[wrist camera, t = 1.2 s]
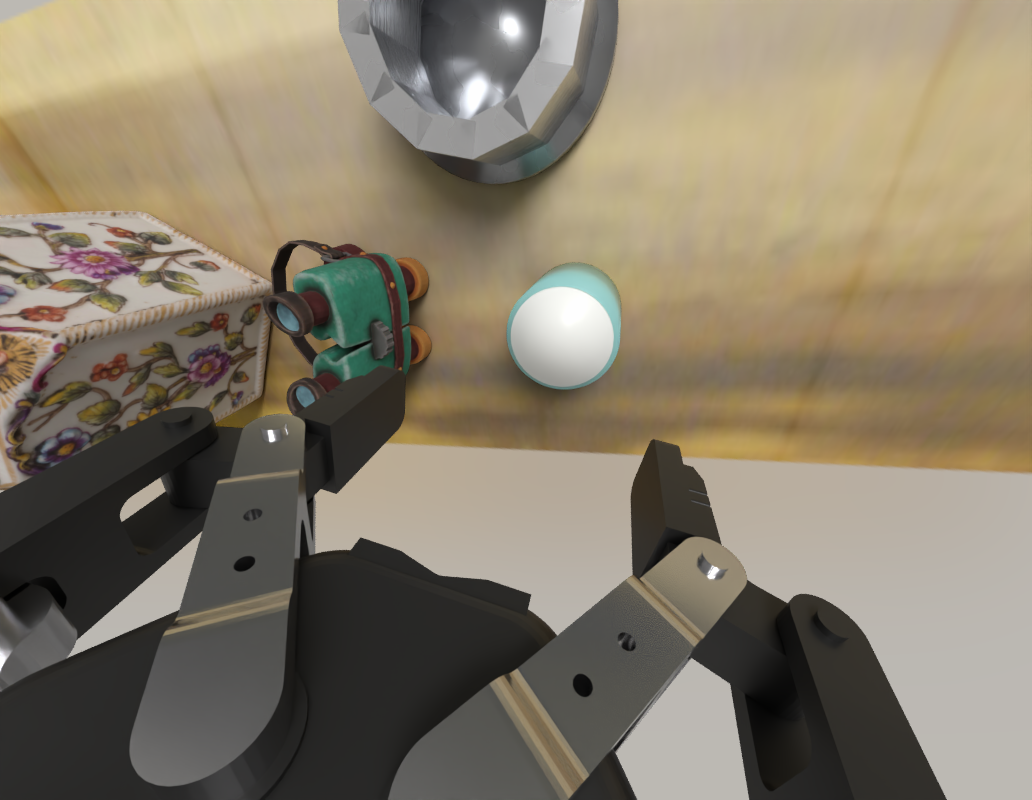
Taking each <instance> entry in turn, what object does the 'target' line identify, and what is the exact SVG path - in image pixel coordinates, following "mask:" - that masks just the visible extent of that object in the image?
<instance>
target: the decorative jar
mask: <svg viewBox="0 0 1032 800" xmlns="http://www.w3.org/2000/svg"><path fill="white" fill-rule="evenodd" d="M269 295H273V291H272V282H270V281H268V280H266V279H265V278H262V277H261V276H259V275H257V274H255V273H253V272H252V271H250V270H248V269H247V268H245V267H244V266H242V265H240V264H238V263H237V262H235V261H233V260H231V259H230V258H228V257H226V256H224V255H222V254H221V253H218V252H217V251H215V250H213V249H211V248H210V247H208V246H206V245H204V244H202V243H200V242H199V241H197V240H195V239H193V238H191V237H189V236H187V235H185V234H183V233H182V232H180V231H178V230H176V229H174V228H173V227H171V226H169V225H168V224H166V223H164V222H162V221H160V220H159V219H157V218H155V217H153V216H152V215H150V214H148V213H145V212H139V211H89V212H65V213H45V214H20V215H0V490H7V489H9V488H11V487H13V486H15V485H17V484H19V483H21V482H23V481H25V480H27V479H29V478H31V477H33V476H35V475H37V474H39V473H40V472H42V471H44V470H46V469H48V468H50V467H52V466H54V465H56V464H58V463H60V462H62V461H64V460H66V459H68V458H70V457H72V456H74V455H76V454H78V453H80V452H82V451H84V450H86V449H87V448H89V447H91V446H93V445H95V444H97V443H99V442H101V441H103V440H105V439H107V438H109V437H111V436H113V435H115V434H117V433H119V432H121V431H123V430H125V429H127V428H129V427H131V426H133V425H134V424H136V423H138V422H140V421H142V420H144V419H146V418H148V417H150V416H152V415H154V414H156V413H159V412H162V411H165V410H168V409H173V408H179V407H200V408H204V409H207V410H209V411H210V412H211V413H212V414H213V417H214V421H215V423H217V422H218V421H220V420H222V419H223V418H225V417H227V416H229V415H231V414H232V413H234V412H236V411H238V410H239V409H241V408H243V407H244V406H246V405H248V404H249V403H251V402H253V401H254V400H256V399H258V398H259V397H260V396H261V395H262V391H263V383H264V373H265V365H266V355H267V348H268V339H269V331H270V322H271V320H270V319H269V317H268V316H267V314H266V313H265V310H264V308H263V299H264V298H265V297H266V296H269Z"/></svg>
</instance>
